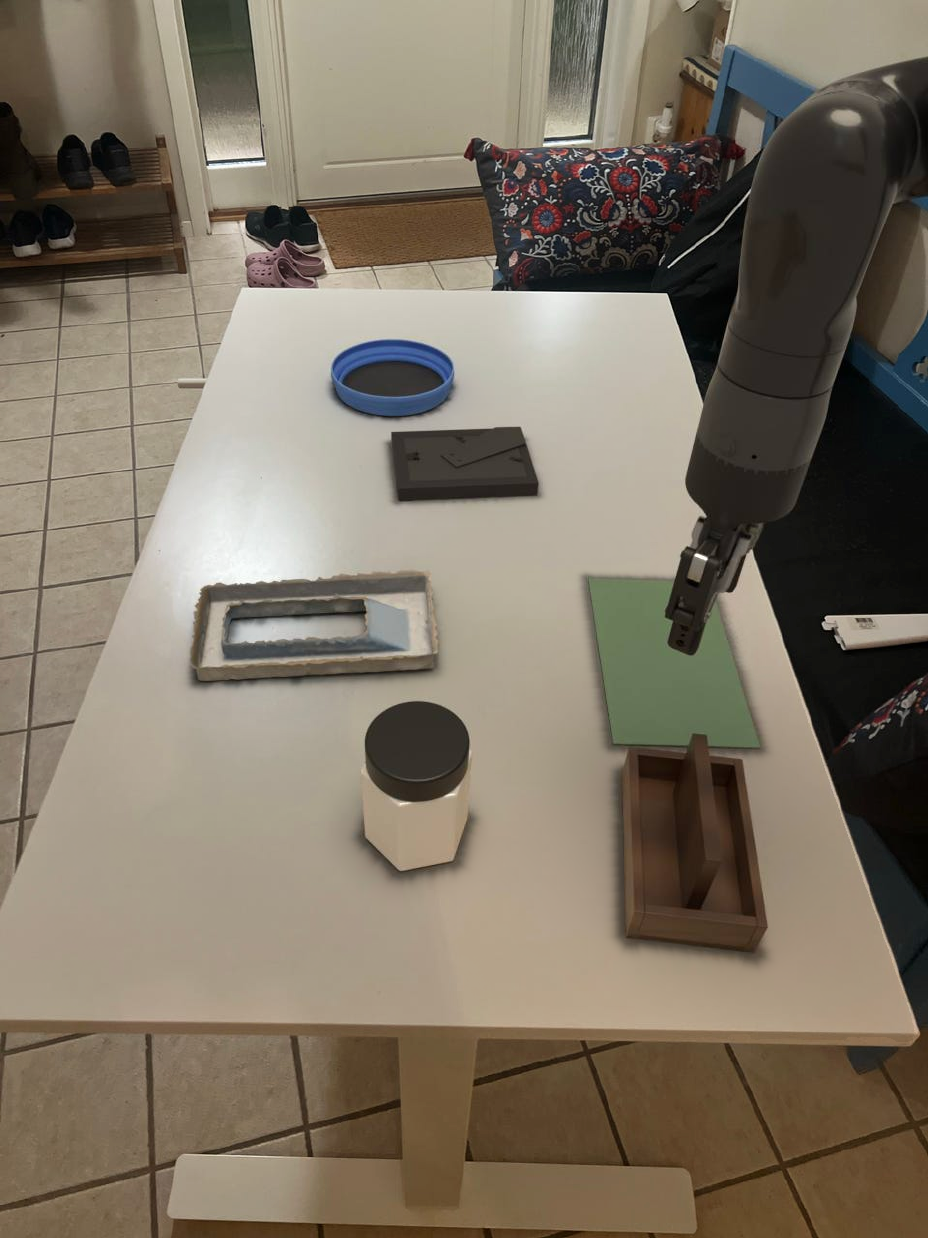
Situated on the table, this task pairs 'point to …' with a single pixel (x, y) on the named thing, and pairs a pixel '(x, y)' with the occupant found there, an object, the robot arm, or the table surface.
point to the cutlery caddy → (690, 850)
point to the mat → (665, 672)
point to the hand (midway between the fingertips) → (702, 616)
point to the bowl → (392, 377)
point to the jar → (416, 783)
